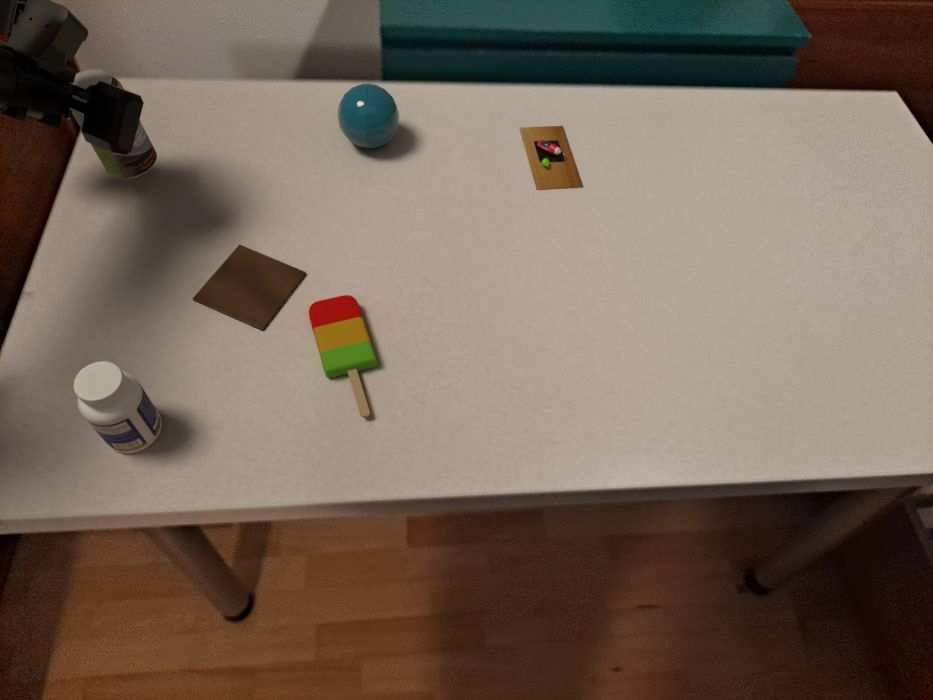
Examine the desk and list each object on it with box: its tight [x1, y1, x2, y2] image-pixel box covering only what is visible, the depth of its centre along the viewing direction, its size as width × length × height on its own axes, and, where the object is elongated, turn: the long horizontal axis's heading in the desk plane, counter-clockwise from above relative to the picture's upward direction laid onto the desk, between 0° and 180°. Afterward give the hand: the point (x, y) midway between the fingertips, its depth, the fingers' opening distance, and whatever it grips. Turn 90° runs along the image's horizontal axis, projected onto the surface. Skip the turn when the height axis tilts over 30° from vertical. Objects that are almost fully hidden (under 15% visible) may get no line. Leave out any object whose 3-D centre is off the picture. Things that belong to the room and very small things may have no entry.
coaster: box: [192, 244, 307, 332], centre depth 78 cm, size 9×9×1 cm
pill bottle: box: [73, 361, 163, 454], centre depth 63 cm, size 5×5×10 cm
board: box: [519, 125, 584, 191], centre depth 93 cm, size 6×12×2 cm, turn 9°
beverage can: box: [70, 68, 158, 179], centre depth 78 cm, size 6×7×12 cm
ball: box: [337, 83, 400, 149], centre depth 89 cm, size 8×8×8 cm
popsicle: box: [308, 294, 378, 418], centre depth 73 cm, size 6×15×2 cm, turn 19°
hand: (114, 111), depth 79 cm, fingers closed on beverage can, 6 cm apart
